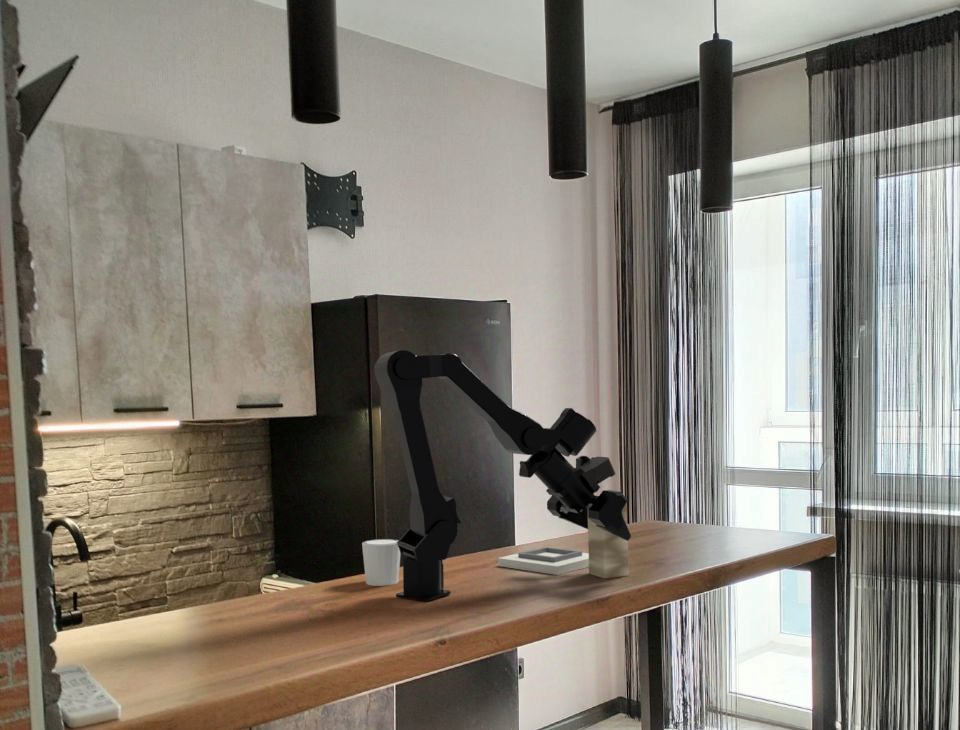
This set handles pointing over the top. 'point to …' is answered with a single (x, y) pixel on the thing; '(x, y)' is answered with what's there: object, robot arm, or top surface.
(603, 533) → the maple pillar
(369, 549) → the white cup
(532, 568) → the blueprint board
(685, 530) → the top surface
